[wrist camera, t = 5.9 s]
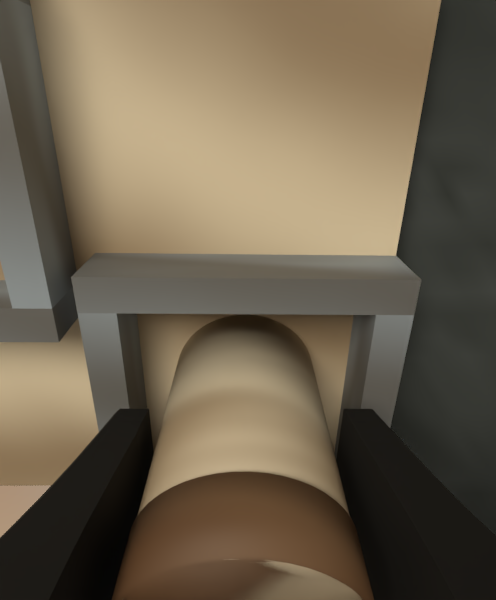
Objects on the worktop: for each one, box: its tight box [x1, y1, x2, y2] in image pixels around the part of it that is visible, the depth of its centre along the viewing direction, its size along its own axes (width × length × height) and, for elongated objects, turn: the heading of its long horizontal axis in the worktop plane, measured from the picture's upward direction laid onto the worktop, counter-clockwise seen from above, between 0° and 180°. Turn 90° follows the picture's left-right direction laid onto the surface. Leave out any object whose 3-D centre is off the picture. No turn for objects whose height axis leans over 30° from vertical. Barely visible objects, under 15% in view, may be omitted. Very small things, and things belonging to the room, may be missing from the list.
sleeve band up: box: [112, 315, 374, 600], centre depth 8 cm, size 4×4×6 cm
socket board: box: [0, 0, 441, 485], centre depth 10 cm, size 13×15×2 cm
